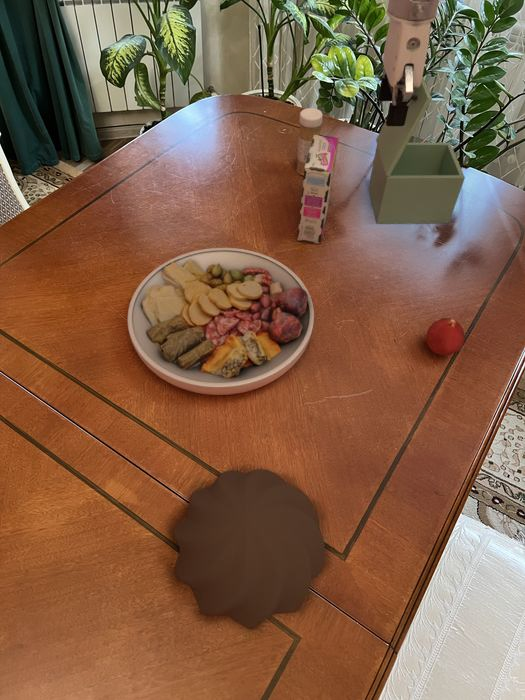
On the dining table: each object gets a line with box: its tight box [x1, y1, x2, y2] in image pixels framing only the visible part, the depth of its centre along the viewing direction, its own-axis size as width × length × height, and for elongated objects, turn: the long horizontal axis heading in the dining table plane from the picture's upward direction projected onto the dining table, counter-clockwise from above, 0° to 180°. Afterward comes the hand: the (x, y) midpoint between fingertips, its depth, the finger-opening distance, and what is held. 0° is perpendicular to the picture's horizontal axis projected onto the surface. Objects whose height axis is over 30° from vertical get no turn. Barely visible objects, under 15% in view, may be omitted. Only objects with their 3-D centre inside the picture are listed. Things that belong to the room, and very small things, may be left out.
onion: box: [425, 317, 465, 356], centre depth 91 cm, size 6×6×8 cm
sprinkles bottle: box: [296, 107, 324, 177], centre depth 119 cm, size 5×5×13 cm
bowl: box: [127, 247, 315, 396], centre depth 93 cm, size 30×30×8 cm
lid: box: [375, 76, 433, 176], centre depth 102 cm, size 15×12×5 cm
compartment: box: [367, 142, 466, 225], centre depth 114 cm, size 15×12×11 cm
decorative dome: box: [172, 468, 326, 630], centre depth 70 cm, size 19×20×10 cm
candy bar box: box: [296, 134, 340, 245], centre depth 107 cm, size 11×5×16 cm, turn 168°
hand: (390, 112), depth 102 cm, fingers open, 7 cm apart
